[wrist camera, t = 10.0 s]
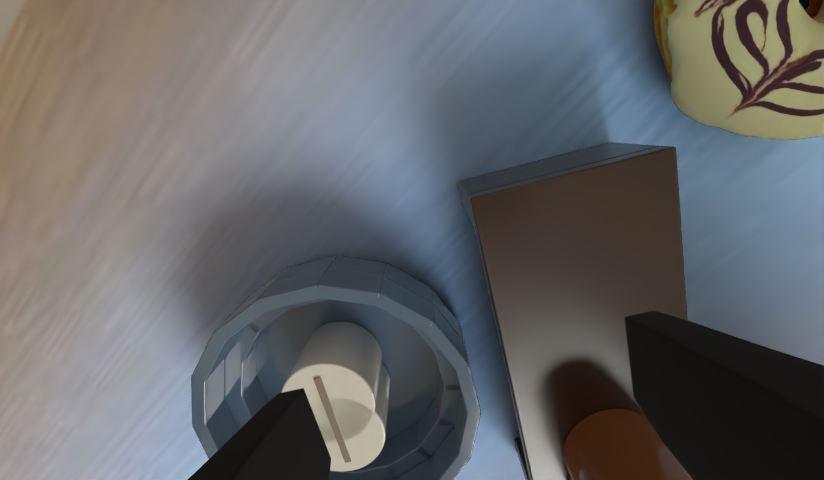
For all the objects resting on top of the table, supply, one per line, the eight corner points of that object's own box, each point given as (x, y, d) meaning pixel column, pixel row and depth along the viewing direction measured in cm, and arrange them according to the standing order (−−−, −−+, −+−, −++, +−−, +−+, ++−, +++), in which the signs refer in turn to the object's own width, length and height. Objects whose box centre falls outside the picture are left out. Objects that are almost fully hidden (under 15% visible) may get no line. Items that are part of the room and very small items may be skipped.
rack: (643, 430, 21) (700, 506, 17) (517, 455, 22) (543, 535, 18) (610, 141, 17) (677, 146, 13) (456, 181, 18) (469, 198, 13)
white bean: (399, 405, 20) (396, 463, 17) (327, 421, 21) (309, 481, 17) (369, 312, 19) (359, 355, 15) (292, 330, 19) (265, 376, 16)
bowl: (487, 433, 21) (502, 499, 18) (280, 475, 22) (252, 547, 19) (436, 227, 18) (441, 253, 14) (196, 286, 19) (141, 326, 15)
